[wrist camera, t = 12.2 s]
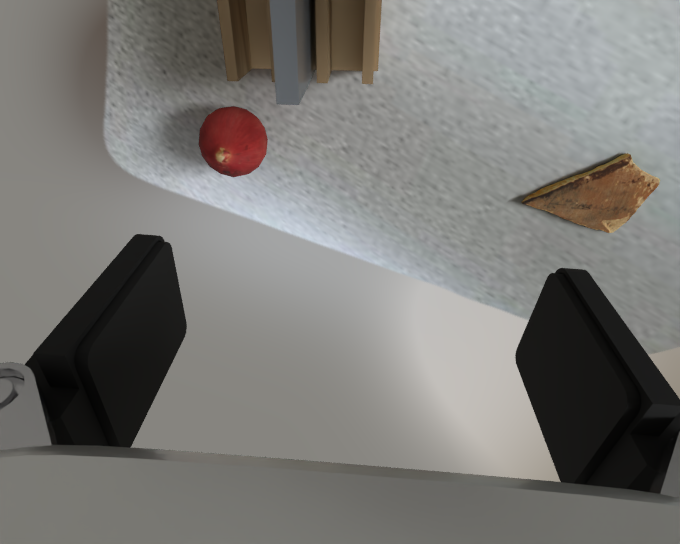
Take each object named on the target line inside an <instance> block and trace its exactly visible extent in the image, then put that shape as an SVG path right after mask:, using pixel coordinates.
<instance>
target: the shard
mask: <svg viewBox="0 0 680 544" xmlns="http://www.w3.org/2000/svg"><path fill="white" fill-rule="evenodd" d="M659 182H660V179H658V178H657V177H654V176H651V175H650V174H648V173H646V172H644V171H642V170H641V169H640V168H639V167H637V166H636V165H635V164H634V163H633V161H632V157H631V155H630V154H628V153H627V154H623V155H620V156H619V157H617V158H616V159H614V160H613V161H610V162H608V163H606V164H604V165H600V166H598V167H596V168H595V169H593V170H591V171H588V172H585V173H582V174H579V175H575V176H573V177H570V178H567V179H565V180H563V181H559V182H557V183H555V184H552V185H549V186H546V187H544V188H542V189H540V190H538V191H537V192H535V193H533V194H530V195H529V196H527V197H526V198H525V199H523V201H522V203H523V204H526V205H530V206H532V207H534V208H537V209H541V210H545V211H548V212H550V213H553V214H555V215H558V216H559V217H561V218H563V219H566V220H569V221H572V222H574V223H577V224H579V225H584V226H586V227H588V228H592V229H595V230H598V229H599V230H603V231H605V232H607V233H612V232H614V231H616V230H617V229H618V228H619V227H621V226H622V225H623V224H624V223H626V222H627V221H628V220H629V219H630V217H631V216H632V215H633V214H634V213H635V212H636V210H637V209H638V208H639V207H640V206H641V204H642V203H643V202H644V201H645V200H646V198H647V197H648V196H649V195H650V194H651V193H652V192H653V191H654V190H655V189H656V188H657V186H658V185H659Z"/></svg>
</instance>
